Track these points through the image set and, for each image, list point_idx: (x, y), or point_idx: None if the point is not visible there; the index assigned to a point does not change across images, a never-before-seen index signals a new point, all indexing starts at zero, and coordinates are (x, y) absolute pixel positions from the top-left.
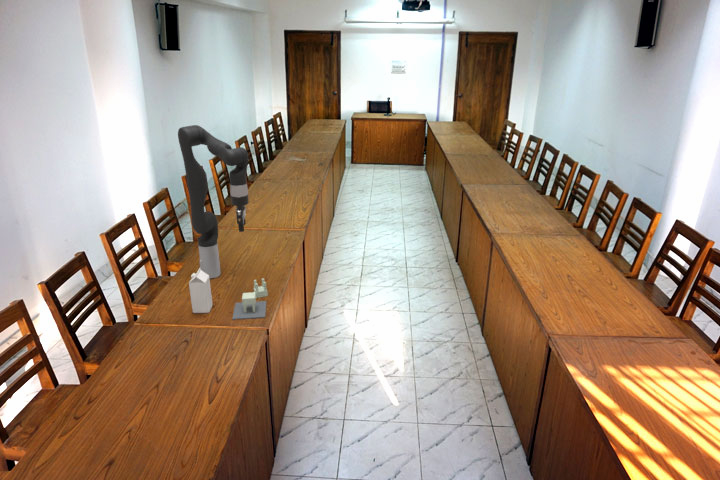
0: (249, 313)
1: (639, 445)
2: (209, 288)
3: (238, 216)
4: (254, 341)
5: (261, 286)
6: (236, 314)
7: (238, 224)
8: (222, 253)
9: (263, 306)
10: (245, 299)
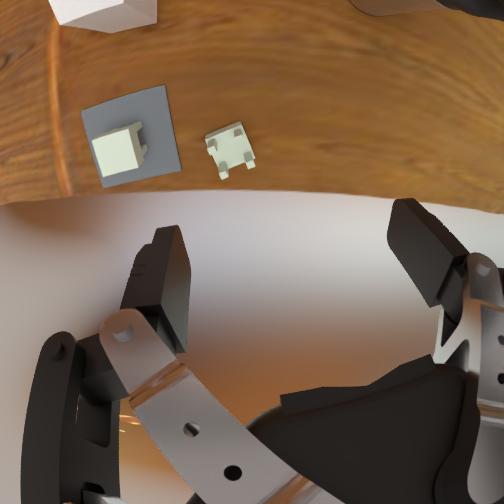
0: None
1: None
2: (122, 16)
3: (43, 469)
4: (28, 192)
5: (247, 149)
6: (100, 113)
7: (139, 301)
8: (477, 42)
9: (150, 170)
10: (95, 149)
